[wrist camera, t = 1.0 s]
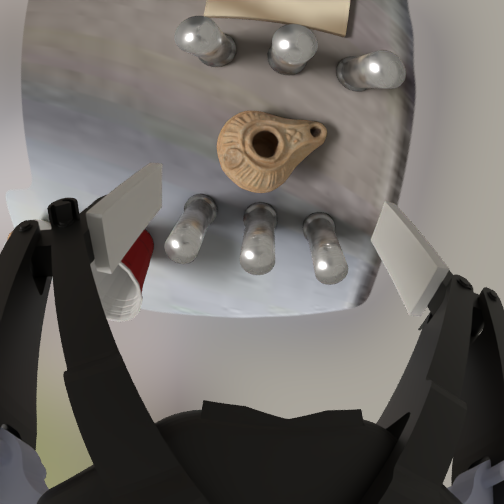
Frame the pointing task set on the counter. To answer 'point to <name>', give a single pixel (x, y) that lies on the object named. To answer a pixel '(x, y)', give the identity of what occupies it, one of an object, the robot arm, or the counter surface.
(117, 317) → the plastic cup
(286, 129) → the pottery oil lamp
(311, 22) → the ash board
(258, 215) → the posts
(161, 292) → the counter surface
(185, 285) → the counter surface
